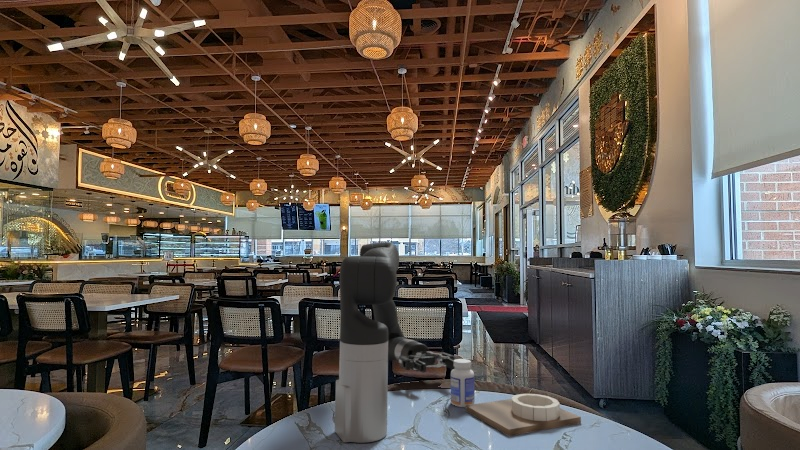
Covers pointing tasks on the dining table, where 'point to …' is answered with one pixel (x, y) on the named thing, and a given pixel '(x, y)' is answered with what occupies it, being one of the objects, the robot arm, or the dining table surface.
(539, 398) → the socket sleeve
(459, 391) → the pill bottle
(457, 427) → the dining table surface
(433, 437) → the dining table surface
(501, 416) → the socket board
